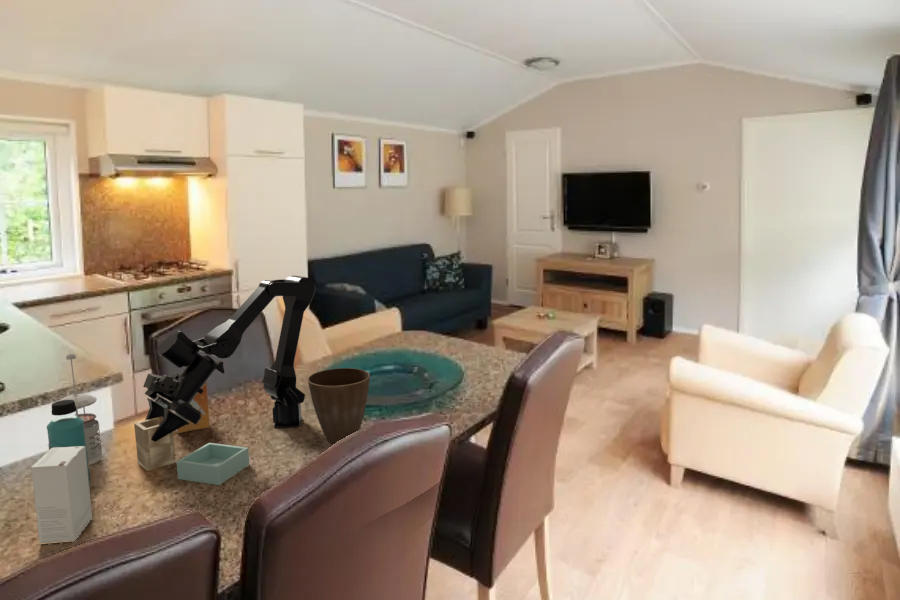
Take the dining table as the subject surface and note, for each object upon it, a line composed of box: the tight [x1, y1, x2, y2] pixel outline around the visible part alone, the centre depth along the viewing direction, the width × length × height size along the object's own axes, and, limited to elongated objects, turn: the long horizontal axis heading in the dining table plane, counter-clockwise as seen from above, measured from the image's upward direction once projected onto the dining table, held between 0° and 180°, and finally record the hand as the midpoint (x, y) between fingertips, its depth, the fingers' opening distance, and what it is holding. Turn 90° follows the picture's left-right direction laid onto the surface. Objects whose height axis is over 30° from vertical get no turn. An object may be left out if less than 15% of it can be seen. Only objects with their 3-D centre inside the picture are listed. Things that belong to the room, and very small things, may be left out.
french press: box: [59, 353, 107, 465], centre depth 140 cm, size 10×12×25 cm
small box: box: [175, 381, 211, 434], centre depth 159 cm, size 8×6×13 cm
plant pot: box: [307, 367, 371, 444], centre depth 150 cm, size 15×15×16 cm
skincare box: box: [30, 446, 93, 544], centre depth 108 cm, size 8×6×15 cm
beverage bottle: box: [46, 399, 92, 488], centre depth 121 cm, size 6×7×20 cm
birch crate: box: [133, 416, 177, 472], centre depth 138 cm, size 6×6×10 cm
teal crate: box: [176, 442, 250, 486], centre depth 133 cm, size 10×10×4 cm
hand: (147, 436), depth 136 cm, fingers closed on birch crate, 6 cm apart
